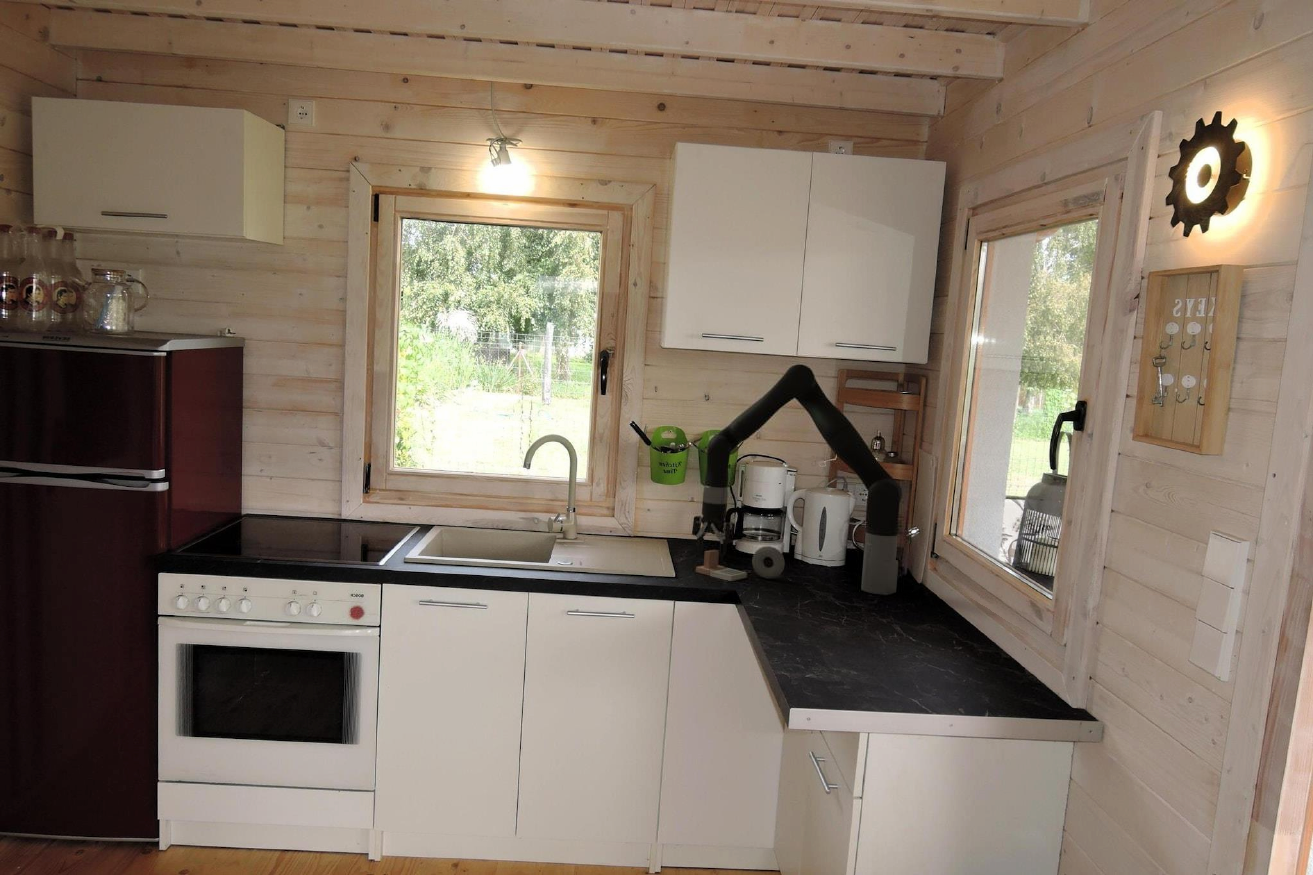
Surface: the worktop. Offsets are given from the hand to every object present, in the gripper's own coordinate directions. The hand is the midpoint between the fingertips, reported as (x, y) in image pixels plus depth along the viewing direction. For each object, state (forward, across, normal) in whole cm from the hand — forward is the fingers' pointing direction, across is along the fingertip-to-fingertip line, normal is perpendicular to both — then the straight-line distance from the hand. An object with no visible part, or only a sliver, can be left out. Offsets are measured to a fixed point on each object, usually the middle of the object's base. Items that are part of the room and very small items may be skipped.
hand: (711, 552), depth 285 cm
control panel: (+6, -7, 0) cm, 9 cm away
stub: (+6, 0, 0) cm, 6 cm away
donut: (+6, -16, -8) cm, 19 cm away
